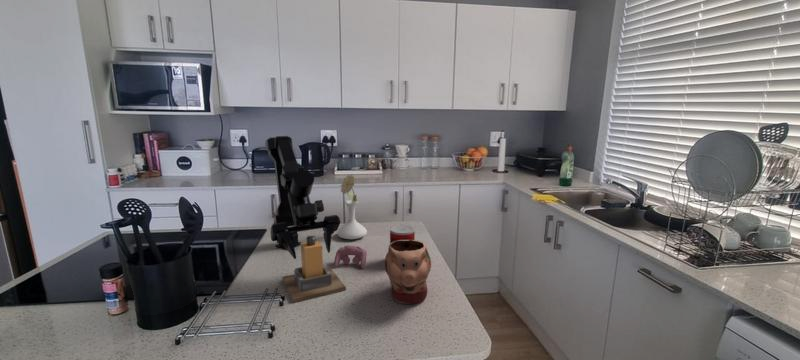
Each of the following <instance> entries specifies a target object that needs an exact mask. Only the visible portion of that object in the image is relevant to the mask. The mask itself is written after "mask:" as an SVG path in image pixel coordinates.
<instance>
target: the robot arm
mask: <svg viewBox="0 0 800 360" xmlns="http://www.w3.org/2000/svg"><path fill="white" fill-rule="evenodd" d="M265 151H266V152H267V153H268V157H269V158H270V159H271V161H272V162H273V163H274V169H275V170H274V171H275V178H276V179H275V180H276V189H277V193H278V195H277V197H278V206H277V208H276V210H275V215H274V218H273V223H272V225H270V232H269V234H270V239H271V242H276V243H277V244H275V247H277V248H281V249H285V250H287V251H288V253H289V254H290V256H291V257H292V258H293V259H294V260H296V259H297V254H296V250H295V247H297V246H299V245H300V246H301V243H302V242H301V241H299V234H298V232H306V231H310V230H311V231H312V230H319V229H322V231H323V234H322V235H323V239H324V243H325V244H324V245H325V248H326V250H327V253H330V251H331V245H332V244H331V243H332V235H333V234H335V232H337V231H338V230H339V229H338V228H339V226H340V224H341V219H340V216H338V215H337V214H332V215H325V216H324V218H323V220H321V221H316V220H317V219H318V215H319V213H322V212H324V211H325V205H324V203H323V200H322V199H319V200H318V199H317V200H315V201H314V202H313V203H312V202H311V199H310V194H311V192H312V188H313V185H314V182H315V176H314V175H313V173H311V172H310V171H308V170H306V168H305V167H304V166H303V165H302V164H300V163H298V160H297V157H296V155H295V152H294V149H293V138H292V137H291V136H288V135H279V136H278V135H277V136H273V137H271V136H270V137H268V138H267V139H266V140H265Z"/></svg>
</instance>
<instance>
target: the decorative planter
mask: <svg viewBox="0 0 800 360" xmlns="http://www.w3.org/2000/svg"><path fill="white" fill-rule="evenodd" d="M387 249H388V250H387V253H386V255H385V258H384V270H385V272H386V274H387V276H388V278H389V282H390V286H391V290H390V294H391V298H392V299H393V300H394V301H395V302H398V303H400V304H417V303H421V302H424V301H425V300H426V298H427V296H428V285H427V279H428V277H429V274H430V271H431V269H432V259H431V256H430V254H429V252H428V249H427V246H426V244H425V243H424V242H423V241H421V240H416V239H415V240H398V241H394V242H392V243H391V244H390V243H389V245H388V248H387Z"/></svg>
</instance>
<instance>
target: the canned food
mask: <svg viewBox="0 0 800 360" xmlns="http://www.w3.org/2000/svg"><path fill="white" fill-rule="evenodd" d="M415 232H416V231H415V228H414V227H413V226H412V225H406V224H405V225H404V224H399V225H394V226H392V227H391V228H390V231H389V245H390V244H391V243H392V242H394V241H398V240H416V239H415V234H416V233H415Z"/></svg>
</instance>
